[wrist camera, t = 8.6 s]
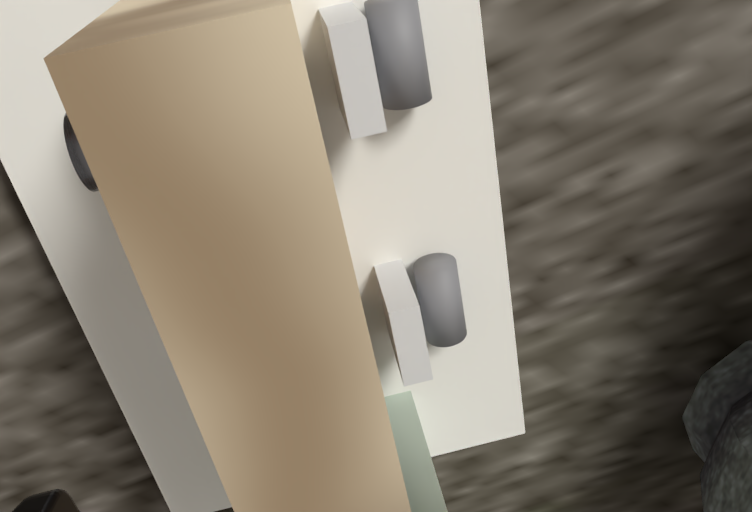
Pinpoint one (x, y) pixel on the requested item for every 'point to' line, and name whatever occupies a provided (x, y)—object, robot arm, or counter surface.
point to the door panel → (236, 243)
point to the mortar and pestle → (724, 432)
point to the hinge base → (360, 219)
